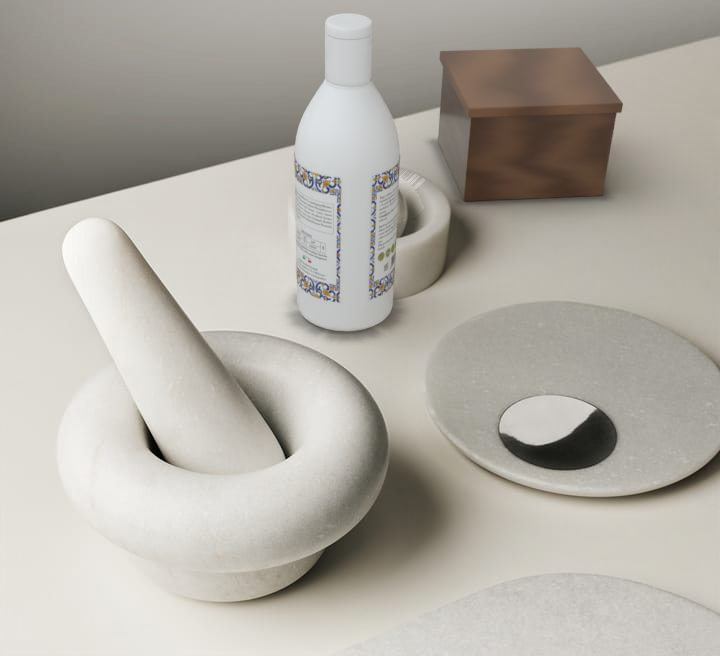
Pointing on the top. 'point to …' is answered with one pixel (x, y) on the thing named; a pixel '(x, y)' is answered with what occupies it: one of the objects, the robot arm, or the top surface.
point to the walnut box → (525, 123)
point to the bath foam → (346, 188)
